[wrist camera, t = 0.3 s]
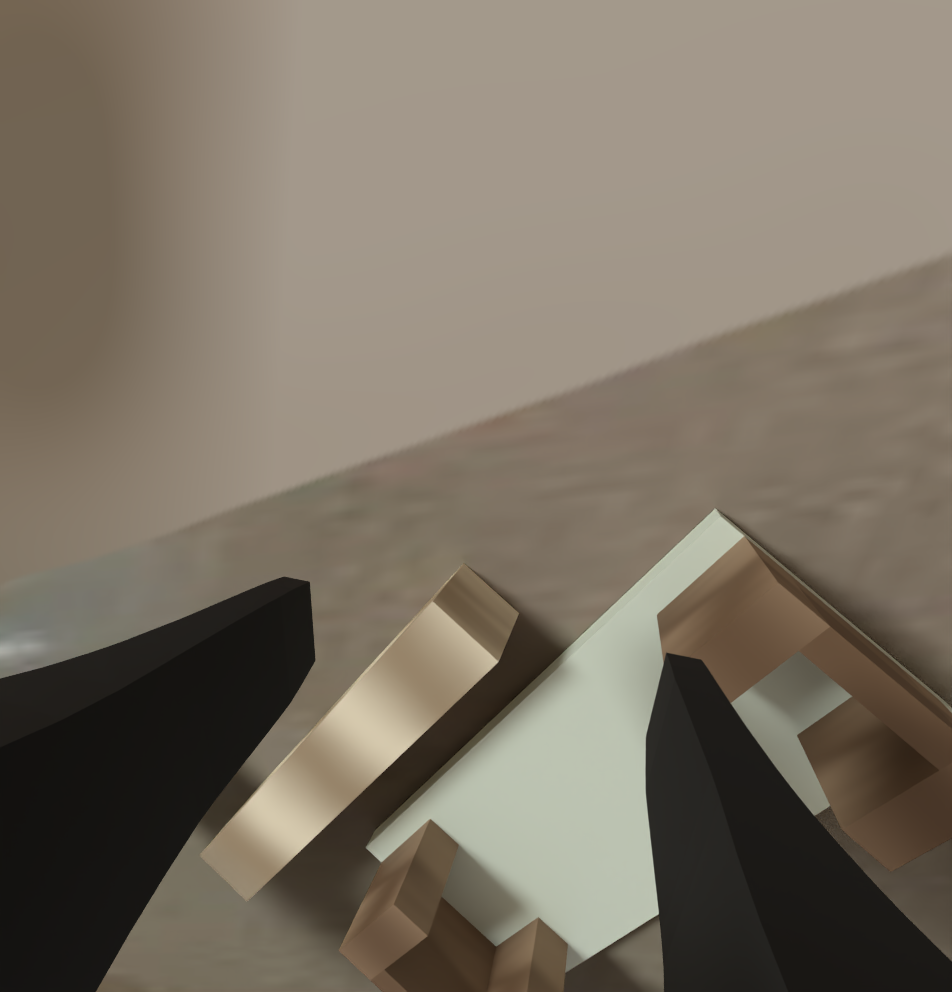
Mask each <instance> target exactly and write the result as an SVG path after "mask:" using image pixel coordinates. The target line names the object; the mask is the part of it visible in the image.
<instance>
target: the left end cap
mask: <svg viewBox="0 0 952 992" xmlns="http://www.w3.org/2000/svg"><path fill="white" fill-rule="evenodd" d="M458 847H459V844H458V843H456V842H455V841H454V840H453V839H452V838H451V837H450V836H449V835H448V834H447V833H445V832H444V831H443V830H442V829H441V828H440V827H439V826H438V825H437V824H436V823H435V822H433V821H432V820H431V819H429V820H428V821H427V822H426V823H425V824H424V825H422V826H421V827H420V828H419V829H418V830H417V831H416V832H415V833H414V834H412V835H411V836H410V837H409V838H408V839H407V840H406V841H405V842H404V843H402V844H401V845H400V846H399V847H398V848H397V849H396V850H395V851H394V852H392V853H391V854H390V855H389V856H388V857H387V858H386V859H385V860H384V861H382V862H381V864H380V866H379V869H378V871H377V873H376V875H375V877H374V879H373V881H372V883H371V885H370V887H369V889H368V891H367V893H366V895H365V897H364V899H363V901H362V903H361V905H360V908H359V910H358V912H357V914H356V916H355V918H354V920H353V922H352V924H351V926H350V928H349V930H348V932H347V934H346V936H345V938H344V940H343V942H342V945H341V947H340V949H339V951H340V952H341V953H342V954H343V955H344V956H345V957H346V958H347V959H348V960H349V961H350V962H351V963H352V964H354V965H355V966H356V967H357V968H358V969H359V970H360V971H361V972H362V973H363V974H364V975H365V976H366V977H367V978H368V979H370V980H371V981H372V982H373V983H374V984H375V985H376V986H377V987H378V988H379V989H380V990H381V991H382V992H564V981H565V971H566V960H567V949H568V944H567V943H566V942H565V941H564V940H563V939H562V938H561V937H560V936H559V935H557V934H556V933H555V932H554V931H553V930H552V929H551V928H550V927H549V926H548V925H547V924H545V923H544V922H543V921H542V920H541V919H540V918H539V917H538V918H536V919H535V920H533V921H532V922H531V923H529V924H528V925H526V926H525V927H523V928H522V929H521V930H519V931H518V932H516V933H515V934H513V935H512V936H511V937H509V938H508V939H506V940H505V941H503V942H502V943H501V944H499V945H498V946H495V945H494V944H493V943H492V942H491V941H490V940H488V939H487V938H486V937H485V936H484V935H483V934H482V933H481V932H480V931H479V930H478V929H476V928H475V927H474V926H473V925H472V924H471V923H470V922H469V921H468V920H467V919H466V918H465V917H463V916H462V915H461V914H460V913H459V912H458V911H457V910H456V909H455V908H454V907H453V906H451V905H450V904H449V903H448V902H447V901H446V900H445V899H444V898H443V897H442V893H443V890H444V888H445V885H446V882H447V879H448V876H449V873H450V870H451V867H452V864H453V861H454V858H455V855H456V852H457V849H458Z"/></svg>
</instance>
